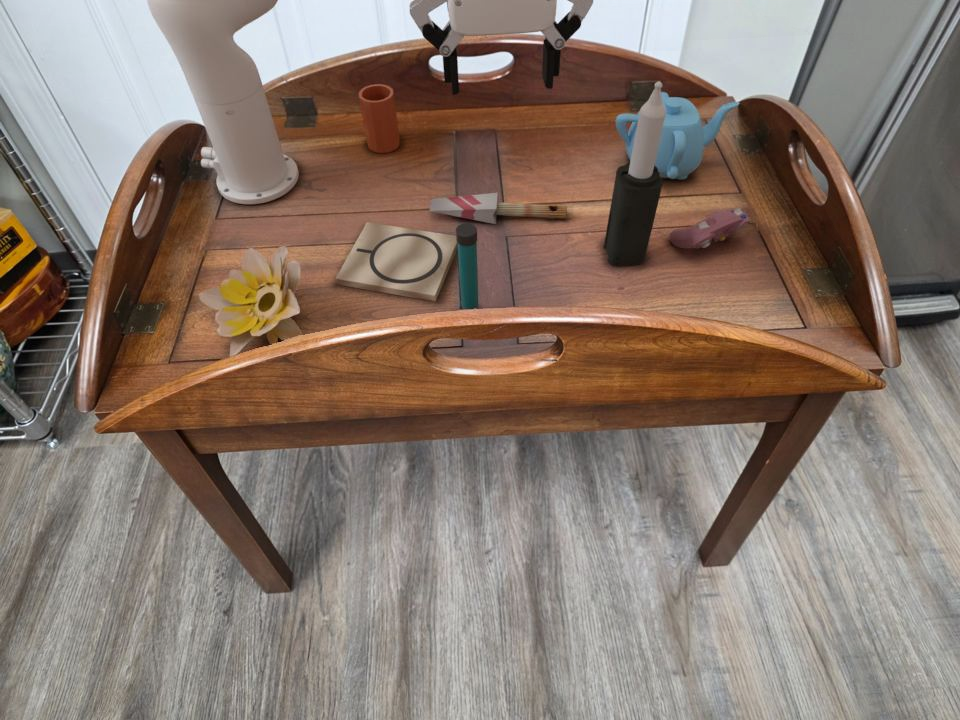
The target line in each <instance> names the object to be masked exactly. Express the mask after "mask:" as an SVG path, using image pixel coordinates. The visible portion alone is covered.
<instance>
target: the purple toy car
mask: <svg viewBox="0 0 960 720" xmlns="http://www.w3.org/2000/svg"><path fill="white" fill-rule="evenodd" d="M750 223H751V218H749V217H748V214H747V213H746V212H745V211H743V209H741V207H734V208H730V209H726V210H717V211H714V212H712V213H711V214H710V215H709V216H708V217H706V218H704V219H702V220H700V221H698V222H696V223H694V224H693V225H691V226H689V227H685V228H675V229H673V230H672V231H670V233H669V241H670V243H671V244H672V245H674V246H675V247H678V248H682V249H688V248H689V249H690V248H692V249H694V248H695V250H698V249H700V248H701V249H702V248H703V249H706V248H708V247H709V246H710V245H711V243H712V240H713V242H714V243H716V242H718V241H720V242H723V241H724V240H726V238H727V237H728V236H730V235H731V234H734V233H735V232H737V231H739V230H742V229H743V228H744V227H745V226H747V225H748V224H750Z"/></svg>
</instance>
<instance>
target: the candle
mask: <svg viewBox="0 0 960 720" xmlns="http://www.w3.org/2000/svg"><path fill="white" fill-rule="evenodd" d="M662 88H663V83H662V82H661V81H660V80H658V81H656V82H655V83H654V89H653V90H652V93H651V94H650V96H649V97H648V100H647V101H646V102H644V104H643V105H642V106H641V107H640V110H639V111H640V113H639V119H638V124H637V129H636V135H635V140H634V145H633V150H632V156H631V161H629V162H627V163H626V164H624V165H620V166H618V167H617V169H616V171H615V172H616V173H615V177H614V183H613V184H614V185H613V189H612V190H613V191H612V196H611V202H610V207H609V214H608V220H607V225H606V231H605V238H604V243H603V249H604V250H605V252H606V256H607V262H608V264H609V265H611V266H613V267H626V266H639V265H642V264H644V263H645V260H646V256H647V251H648V247H649V243H650V239H651V235H652V230H653V227H654V222H655V219H656V215H657V210H658V206H659V201H660V197H661V193H662V188H663V185H664V183H663V180H662V178H661V177H660V175H659V174H660V173H659V172H658V168H657V167H656V166H655V160H656V156H657V151H658V147H659V142H660V138H661V133H662V129H663V124H664V120H665V115H666V109H665V107H664V105H663V103H662V96H661V92H662Z"/></svg>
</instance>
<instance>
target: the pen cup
mask: <svg viewBox="0 0 960 720" xmlns="http://www.w3.org/2000/svg"><path fill="white" fill-rule="evenodd" d="M358 99H359V104H360V110H361V115H362V121H363V127H364V133H365V138H366V142H367V143H366V144H367V147H368V149H369V151H372V152H374V153H377V154H386V153H387V154H388V153H390V152H393V151H395V150H397V149H398V148H399V147H400V145H401V138H400V131H399V124H398V117H397V116H398V115H397V109H396V101H395V100H396V99H395V92H394V89H393V88H392V87H391V86H390V85H387V84H382V83H378V84H377V83H375V84H370V85H366V86H364V87H363V88H361V89H360V90H359V91H358Z"/></svg>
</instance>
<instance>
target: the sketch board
mask: <svg viewBox="0 0 960 720" xmlns="http://www.w3.org/2000/svg"><path fill="white" fill-rule="evenodd" d="M457 251H458V243H457V240H456V235H453V234H447V233H441V232H434V231H428V230H422V229H421V230H420V229H414V228H408V227H401V226H394V225H388V224H384V223H383V224H381V223H375V222H371V221H370V222H369V221H367V222H366V223H365V225H364V226H363V228H362V229H361V232H360V233H359V236H358V237H357V239H356V241H355V243H354V244H353V247H352V248H351V249H350V252H349V253H348V255H347V257H346V259H345V261H344V262H343V264H342V266H341V268H340V269H339V271H338V273H337V275H336V276H335V282H336V285H337V286H343V287H349V288H353V289H354V288H355V289H359V290H366V291H373V292H376V293H377V292H378V293H385V294H389V295H395V296H400V297H401V296H402V297H407V298H412V299H419V300H424V301H429V302H437V299H438V297H439V294H440V293H441V289H442V287H443V284H444V282H445V280H446V277H447V275H448V272H449V270H450V267H451V265H452V263H453V260H454V257H455V255H456V252H457Z"/></svg>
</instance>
